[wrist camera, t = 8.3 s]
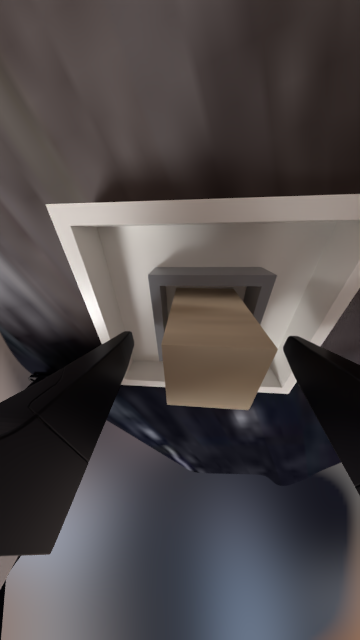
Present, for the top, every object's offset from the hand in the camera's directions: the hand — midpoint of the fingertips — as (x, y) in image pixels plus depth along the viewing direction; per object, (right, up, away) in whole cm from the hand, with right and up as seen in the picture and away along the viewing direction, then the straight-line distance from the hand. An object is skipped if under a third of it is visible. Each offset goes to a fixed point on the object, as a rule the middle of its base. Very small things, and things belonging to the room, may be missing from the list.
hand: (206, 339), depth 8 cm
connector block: (0, +2, +3) cm, 3 cm away
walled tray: (0, +2, +3) cm, 4 cm away
